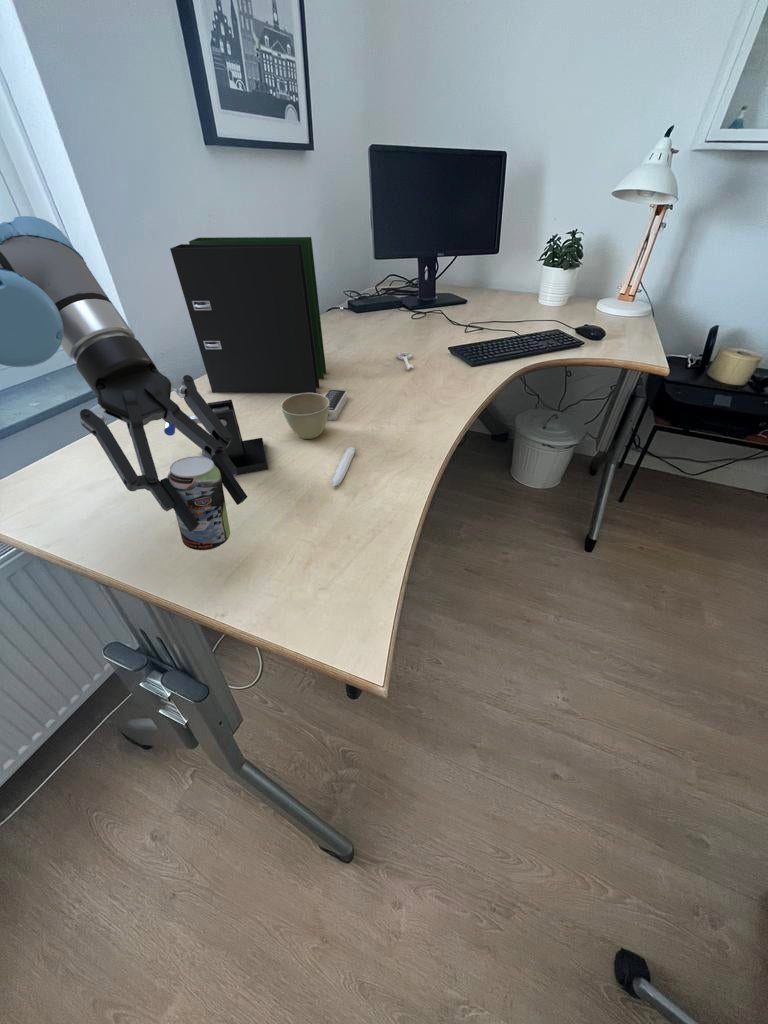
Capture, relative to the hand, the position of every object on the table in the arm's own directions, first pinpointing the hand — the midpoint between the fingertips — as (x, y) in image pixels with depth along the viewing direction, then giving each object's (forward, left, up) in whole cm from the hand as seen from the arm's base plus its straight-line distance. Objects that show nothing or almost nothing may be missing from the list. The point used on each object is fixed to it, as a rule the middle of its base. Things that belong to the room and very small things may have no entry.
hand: (219, 513), depth 54 cm
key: (+49, +70, -13) cm, 87 cm away
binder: (+11, +69, -13) cm, 71 cm away
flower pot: (+16, +39, -13) cm, 44 cm away
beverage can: (-2, +3, -6) cm, 7 cm away
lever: (-4, +33, -4) cm, 34 cm away
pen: (+20, +23, -13) cm, 33 cm away
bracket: (0, +33, -13) cm, 36 cm away
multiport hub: (+23, +49, -13) cm, 56 cm away
